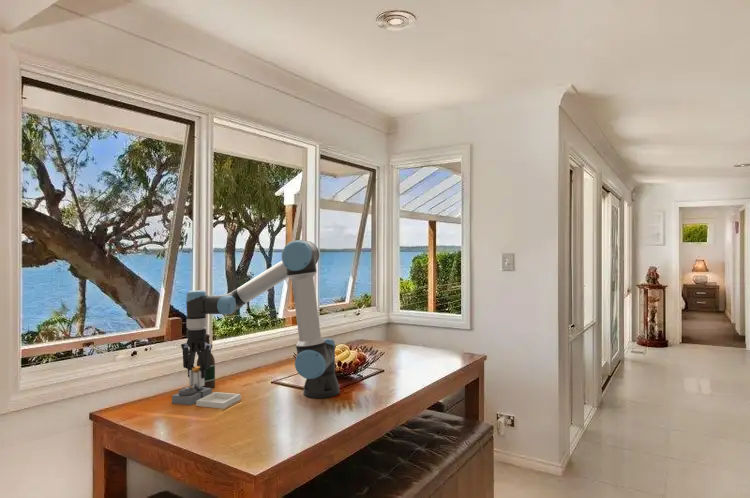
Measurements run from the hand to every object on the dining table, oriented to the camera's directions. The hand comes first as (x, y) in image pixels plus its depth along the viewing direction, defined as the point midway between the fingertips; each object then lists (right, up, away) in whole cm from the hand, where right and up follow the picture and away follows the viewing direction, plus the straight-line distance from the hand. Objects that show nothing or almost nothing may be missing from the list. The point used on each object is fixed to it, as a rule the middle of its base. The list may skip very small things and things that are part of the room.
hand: (197, 385), depth 199 cm
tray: (+11, -6, -7) cm, 15 cm away
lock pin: (0, -5, 0) cm, 5 cm away
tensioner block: (-1, -6, -3) cm, 6 cm away
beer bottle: (-1, -6, +14) cm, 15 cm away
